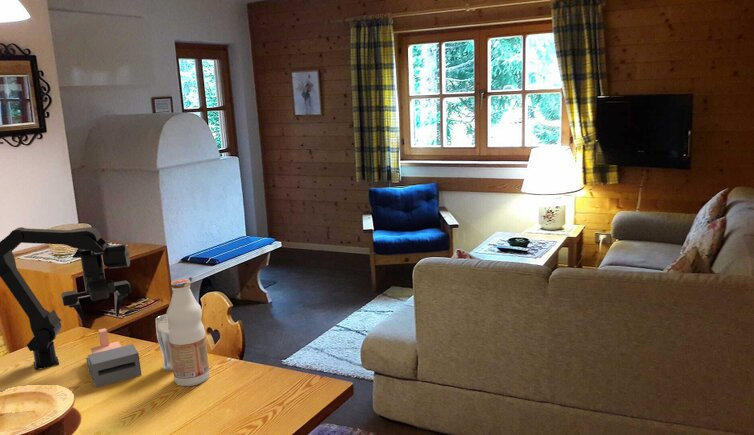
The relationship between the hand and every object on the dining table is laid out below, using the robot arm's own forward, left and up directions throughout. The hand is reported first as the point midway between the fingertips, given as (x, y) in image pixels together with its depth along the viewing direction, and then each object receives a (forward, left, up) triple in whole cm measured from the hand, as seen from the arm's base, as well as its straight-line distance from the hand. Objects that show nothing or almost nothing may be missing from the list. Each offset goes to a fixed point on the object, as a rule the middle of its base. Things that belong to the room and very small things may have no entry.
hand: (100, 319), depth 187 cm
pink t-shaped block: (+7, 0, -9) cm, 11 cm away
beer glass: (+21, +15, -12) cm, 28 cm away
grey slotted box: (+13, 0, -12) cm, 18 cm away
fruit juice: (+33, +17, -12) cm, 39 cm away
